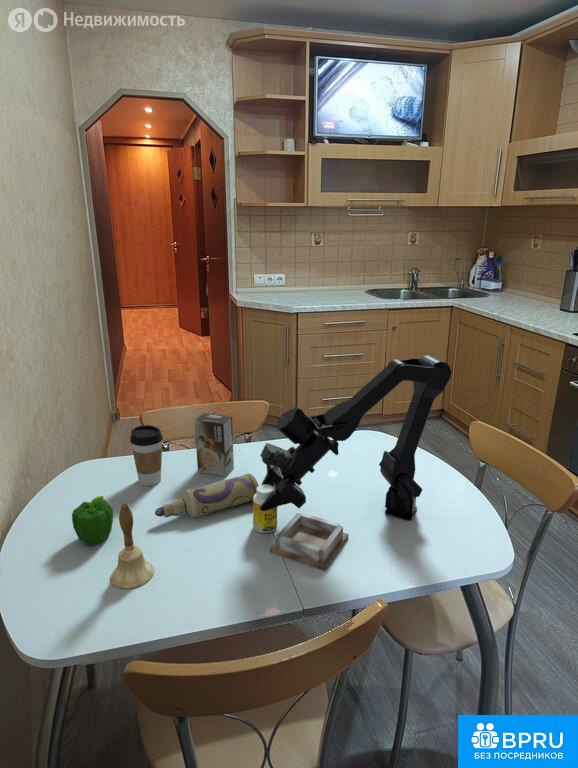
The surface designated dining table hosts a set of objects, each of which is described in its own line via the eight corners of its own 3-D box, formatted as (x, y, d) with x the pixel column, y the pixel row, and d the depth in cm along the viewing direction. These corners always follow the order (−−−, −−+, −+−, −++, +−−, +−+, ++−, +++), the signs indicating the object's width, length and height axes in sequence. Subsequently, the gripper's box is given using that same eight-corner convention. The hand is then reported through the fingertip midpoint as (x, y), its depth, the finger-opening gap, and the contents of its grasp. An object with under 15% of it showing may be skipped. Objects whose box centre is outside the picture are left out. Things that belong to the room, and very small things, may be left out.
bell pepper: (72, 552, 106) (67, 511, 103) (77, 531, 113) (72, 492, 110) (114, 546, 108) (109, 506, 105) (116, 525, 116) (112, 487, 113)
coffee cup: (153, 470, 142) (149, 421, 137) (172, 479, 137) (168, 429, 132) (127, 481, 136) (122, 430, 131) (146, 491, 131) (141, 439, 126)
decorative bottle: (248, 490, 132) (248, 468, 130) (261, 504, 126) (260, 480, 124) (151, 516, 120) (149, 491, 118) (159, 532, 114) (158, 506, 112)
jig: (348, 537, 112) (348, 524, 111) (325, 570, 101) (325, 556, 100) (296, 522, 118) (297, 509, 117) (269, 551, 107) (269, 538, 106)
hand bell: (108, 592, 95) (100, 519, 90) (112, 564, 102) (105, 496, 98) (153, 585, 96) (147, 513, 92) (154, 559, 104) (148, 491, 99)
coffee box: (235, 467, 144) (233, 415, 140) (226, 477, 139) (224, 424, 134) (206, 462, 147) (204, 412, 142) (196, 472, 141) (193, 420, 136)
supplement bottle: (264, 537, 112) (263, 497, 109) (248, 527, 116) (247, 487, 113) (282, 527, 116) (282, 488, 112) (266, 517, 119) (266, 479, 116)
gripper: (274, 418, 118) (229, 464, 119) (291, 451, 101) (238, 505, 102) (305, 446, 122) (261, 490, 123) (327, 482, 105) (276, 533, 106)
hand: (259, 503), depth 113 cm, fingers closed on supplement bottle, 6 cm apart
